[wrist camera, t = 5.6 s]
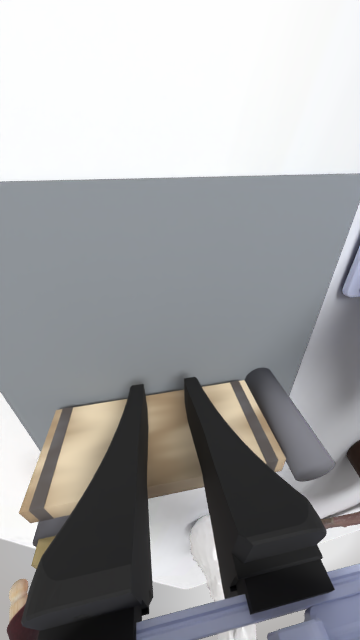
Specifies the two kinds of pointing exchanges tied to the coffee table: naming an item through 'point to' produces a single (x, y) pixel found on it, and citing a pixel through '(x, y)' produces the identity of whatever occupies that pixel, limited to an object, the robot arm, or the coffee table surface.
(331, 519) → the natural artifact
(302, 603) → the robot arm
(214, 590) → the sitting furry creature
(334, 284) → the coffee table surface
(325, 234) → the gate frame
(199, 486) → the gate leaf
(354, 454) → the coffee mug
